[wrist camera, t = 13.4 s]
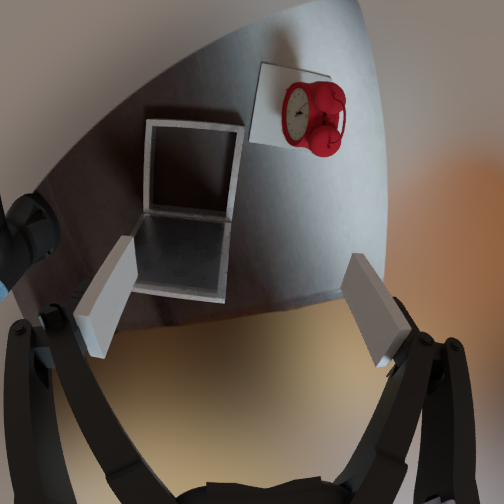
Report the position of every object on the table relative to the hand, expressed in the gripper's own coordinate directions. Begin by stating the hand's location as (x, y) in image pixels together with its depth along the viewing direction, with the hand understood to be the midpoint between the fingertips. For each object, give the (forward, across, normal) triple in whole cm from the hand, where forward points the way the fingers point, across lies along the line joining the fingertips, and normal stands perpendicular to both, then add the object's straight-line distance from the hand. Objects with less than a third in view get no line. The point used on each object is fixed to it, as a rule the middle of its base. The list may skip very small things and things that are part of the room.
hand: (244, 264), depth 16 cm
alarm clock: (+30, +9, +8) cm, 33 cm away
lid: (+28, -8, -10) cm, 30 cm away
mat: (+30, +7, +9) cm, 33 cm away
